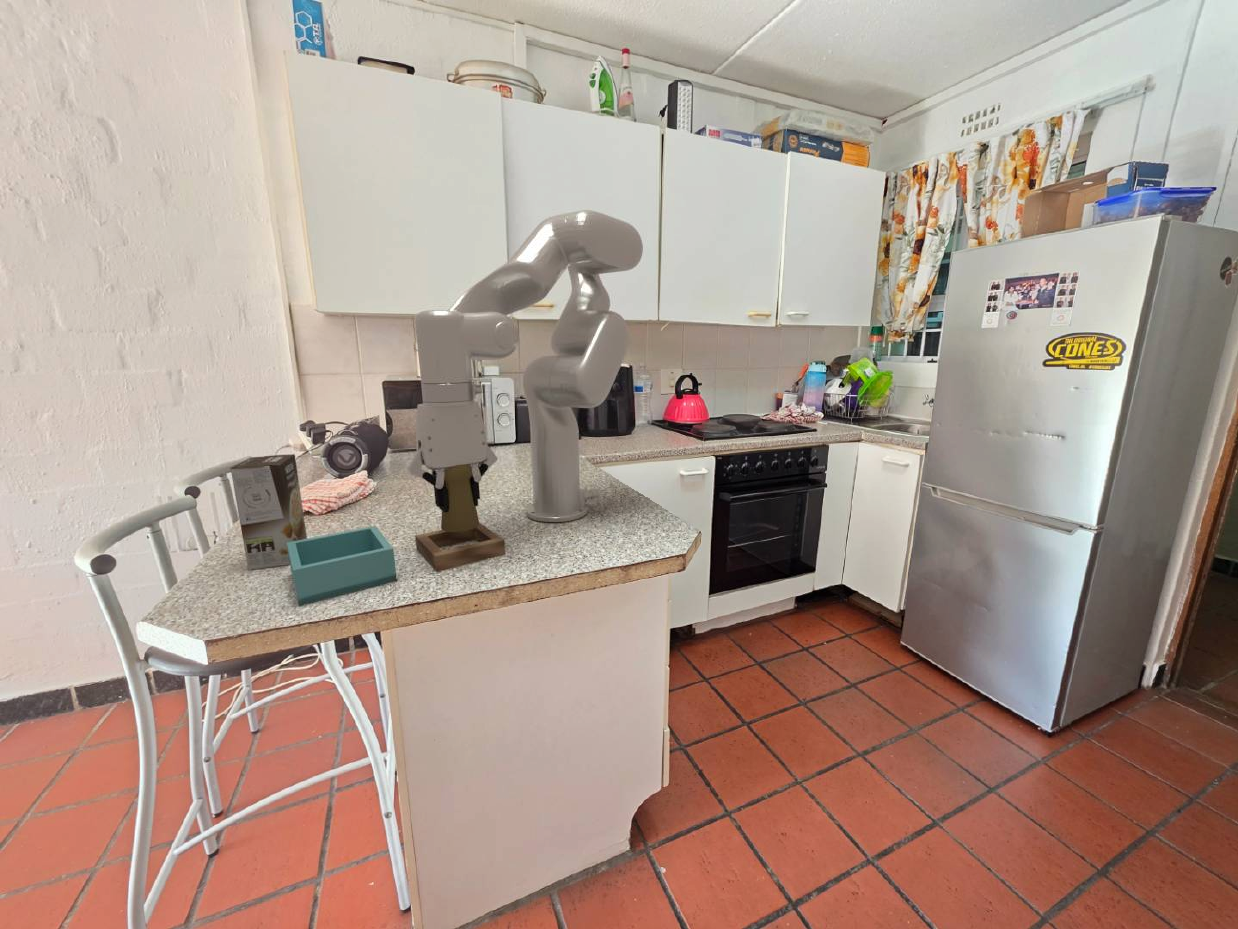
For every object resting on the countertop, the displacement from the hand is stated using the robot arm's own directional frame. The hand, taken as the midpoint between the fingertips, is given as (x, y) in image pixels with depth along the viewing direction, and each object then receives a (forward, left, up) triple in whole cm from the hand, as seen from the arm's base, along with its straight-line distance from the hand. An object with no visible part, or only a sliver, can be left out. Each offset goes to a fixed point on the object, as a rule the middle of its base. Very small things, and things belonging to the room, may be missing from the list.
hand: (458, 506), depth 79 cm
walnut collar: (0, 0, -8) cm, 8 cm away
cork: (0, 0, -3) cm, 3 cm away
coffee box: (+24, -16, -8) cm, 30 cm away
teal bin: (+17, -1, -8) cm, 19 cm away
